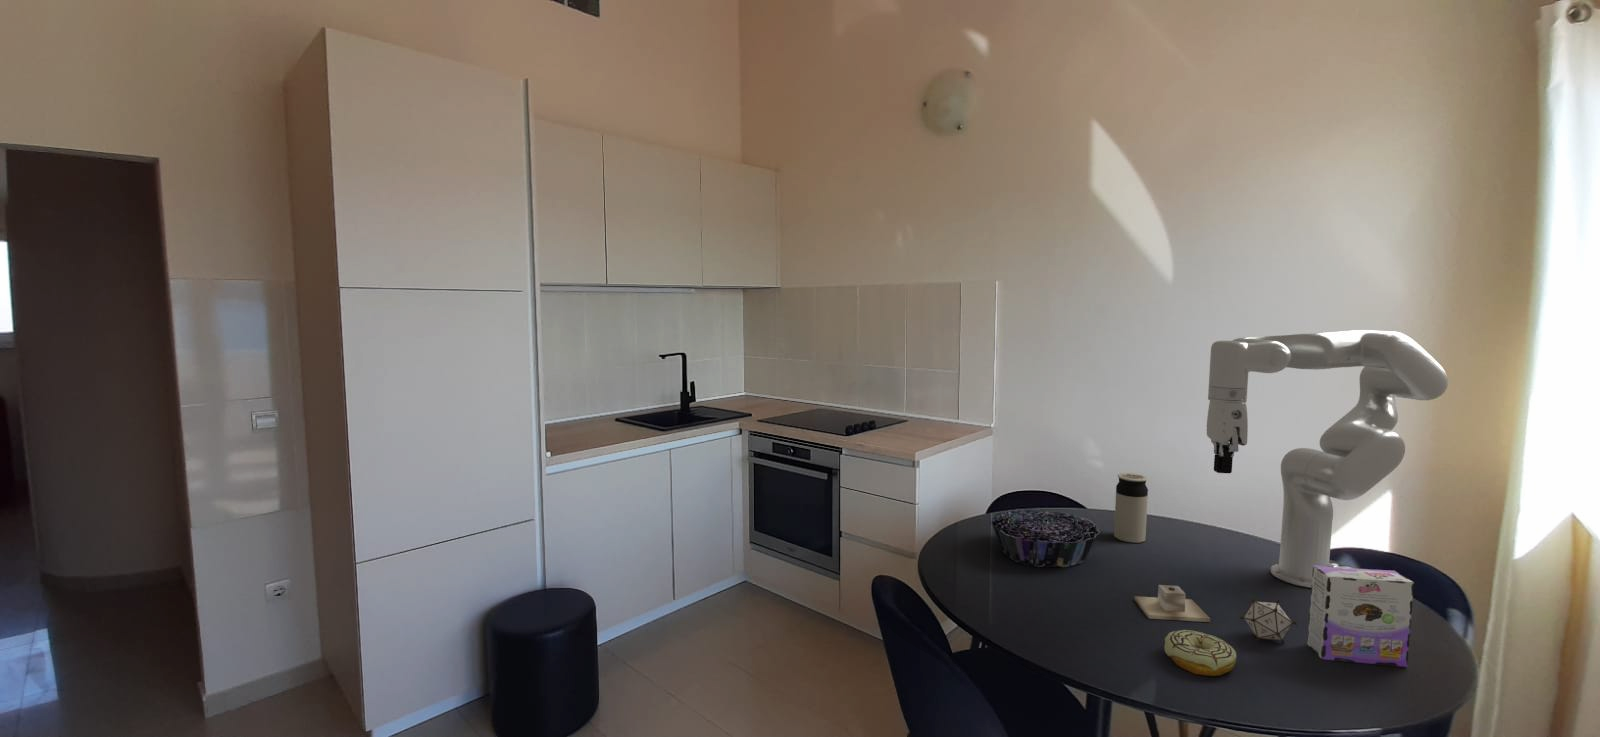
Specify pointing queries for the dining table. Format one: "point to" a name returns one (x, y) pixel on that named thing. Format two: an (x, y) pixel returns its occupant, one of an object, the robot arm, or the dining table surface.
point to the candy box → (1360, 615)
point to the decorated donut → (1200, 652)
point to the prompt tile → (1171, 615)
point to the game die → (1268, 620)
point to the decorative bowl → (1044, 537)
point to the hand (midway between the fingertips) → (1222, 472)
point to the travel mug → (1131, 508)
